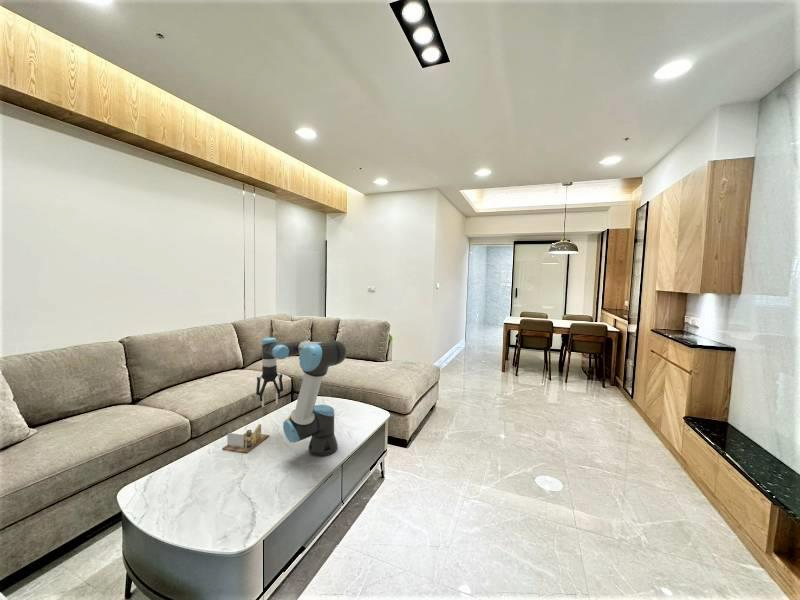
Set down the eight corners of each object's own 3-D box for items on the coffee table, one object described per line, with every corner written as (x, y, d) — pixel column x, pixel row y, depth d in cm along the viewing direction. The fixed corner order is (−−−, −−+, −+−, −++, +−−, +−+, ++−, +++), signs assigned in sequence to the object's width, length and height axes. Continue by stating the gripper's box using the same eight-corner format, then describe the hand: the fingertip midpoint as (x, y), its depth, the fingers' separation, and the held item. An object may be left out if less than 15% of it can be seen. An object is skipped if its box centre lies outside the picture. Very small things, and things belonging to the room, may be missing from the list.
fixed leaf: (252, 445, 176) (252, 430, 175) (247, 449, 172) (247, 433, 171) (233, 442, 178) (232, 427, 178) (227, 446, 174) (227, 430, 174)
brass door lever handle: (254, 446, 174) (254, 434, 173) (246, 447, 173) (245, 434, 173) (261, 435, 186) (261, 424, 186) (253, 436, 185) (253, 424, 185)
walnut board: (269, 436, 188) (269, 435, 188) (246, 453, 169) (246, 451, 169) (246, 433, 191) (246, 432, 191) (222, 450, 173) (222, 448, 173)
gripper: (286, 361, 193) (286, 399, 194) (249, 366, 182) (250, 406, 184) (289, 364, 186) (289, 403, 188) (251, 369, 176) (252, 410, 177)
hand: (270, 405), depth 186 cm, fingers open, 7 cm apart
